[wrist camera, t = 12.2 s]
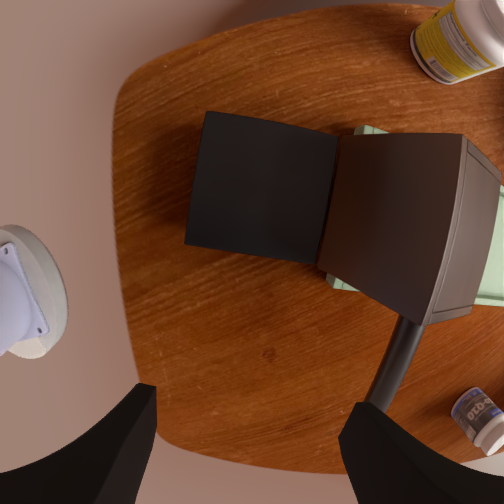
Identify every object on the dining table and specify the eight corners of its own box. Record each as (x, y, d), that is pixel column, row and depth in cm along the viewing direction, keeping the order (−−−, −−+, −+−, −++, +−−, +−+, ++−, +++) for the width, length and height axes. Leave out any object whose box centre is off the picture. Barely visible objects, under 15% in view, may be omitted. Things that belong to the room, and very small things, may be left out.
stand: (193, 233, 18) (183, 244, 14) (211, 123, 16) (205, 109, 13) (301, 250, 18) (315, 265, 15) (320, 144, 17) (339, 136, 14)
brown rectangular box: (355, 455, 10) (416, 423, 12) (462, 133, 7) (502, 173, 9) (287, 376, 17) (348, 364, 19) (342, 135, 14) (401, 160, 16)
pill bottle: (480, 379, 23) (520, 417, 15) (476, 402, 24) (511, 439, 16) (450, 401, 24) (488, 446, 15) (448, 422, 25) (481, 464, 16)
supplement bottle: (443, 30, 15) (515, -8, 5) (466, 86, 16) (550, 64, 7) (397, 25, 15) (470, -32, 5) (422, 85, 16) (515, 50, 7)
